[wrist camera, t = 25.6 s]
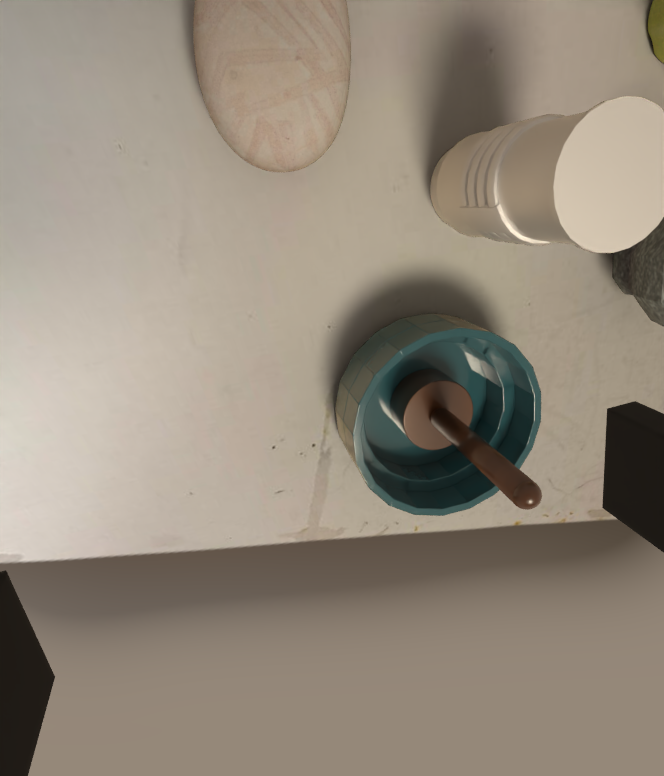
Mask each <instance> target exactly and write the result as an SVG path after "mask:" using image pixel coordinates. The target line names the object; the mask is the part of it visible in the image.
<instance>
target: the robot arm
mask: <svg viewBox="0 0 664 776" xmlns="http://www.w3.org/2000/svg"><path fill="white" fill-rule="evenodd" d="M603 508H604V509H605V510H606V511H608V512H609V513H610V514H612V515H613V516H615V517H616V518H617V519H619V520H620V521H622V522H623V523H624V524H626V525H627V526H628V527H630V528H631V529H632V530H634V531H635V532H637V533H638V534H639V535H641V536H642V537H643V538H645V539H646V540H648V541H649V542H650V543H652V544H653V545H654V546H656V547H657V548H658V549H660V550H661V551H663V552H664V414H663V413H660V412H658V411H656V410H654V409H651V408H649V407H647V406H645V405H642V404H640V403H638V402H631V403H627V404H623V405H620V406H616V407H612V408H608V409H607V425H606V447H605V468H604V489H603ZM54 678H55V676H54V674H53V672H52V669H51V667H50V665H49V663H48V661H47V659H46V656H45V654H44V652H43V650H42V648H41V646H40V643H39V641H38V639H37V637H36V635H35V633H34V630H33V628H32V626H31V624H30V622H29V620H28V617H27V615H26V613H25V611H24V609H23V606H22V604H21V602H20V600H19V598H18V596H17V594H16V592H15V589H14V587H13V585H12V583H11V580H10V578H9V576H8V574H7V572H6V571H2V572H0V776H28V773H29V769H30V766H31V762H32V758H33V755H34V751H35V747H36V744H37V740H38V736H39V733H40V729H41V726H42V722H43V718H44V715H45V711H46V707H47V704H48V700H49V696H50V692H51V689H52V686H53V682H54Z"/></svg>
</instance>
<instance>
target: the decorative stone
mask: <svg viewBox="0 0 664 776" xmlns="http://www.w3.org/2000/svg"><path fill="white" fill-rule="evenodd" d="M193 38H194V54H195V62H196V69H197V75H198V79H199V84H200V88H201V91H202V95H203V98H204V101H205V104H206V107H207V109H208V112H209V114H210V117H211V119H212V120H213V122H214V124H215V126H216V128H217V130H218V131H219V133H220V134H221V136H222V137H223V139H224V140H225V141H226V142H227V144H228V145H229V146H230V147H231V148H232V149H233V151H234V152H235V153H237V154H238V155H239V156H240V157H241V158H243V159H244V160H245V161H247V162H248V163H250V164H252V165H254V166H256V167H258V168H261V169H264V170H268V171H273V172H290V171H295V170H299V169H302V168H305V167H307V166H308V165H310V164H312V163H313V162H315V161H316V160H317V159H319V158H320V157H321V156H322V155H323V154H324V153H325V152H326V151H327V149H328V148H329V147H330V145H331V144H332V142H333V141H334V139H335V137H336V135H337V133H338V131H339V128H340V125H341V123H342V120H343V116H344V112H345V108H346V103H347V97H348V90H349V81H350V61H351V46H350V27H349V17H348V9H347V3H346V0H195V6H194V19H193Z"/></svg>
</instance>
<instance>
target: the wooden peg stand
mask: <svg viewBox="0 0 664 776" xmlns="http://www.w3.org/2000/svg"><path fill="white" fill-rule="evenodd" d="M390 408H391V415H392V418H393V420H394V422H395V423H396V425H397V426H398V427H399V428H400V429H401V431H402V432H403V433H404V434H405V435H406V436H407V437H408V439H409V440H410V441H411V442H412V443H413V444H415V445H416V446H418V447H420V448H423V449H427V450H439V449H443V448H446V447H448V446H450V445H452V444H453V445H454V446H455V447H456V448H457V449H458V450H459V451H460V452H461V453H462V454H463V455H464V456H465V457H466V458H467V459H468V460H469V461H471V462H472V463H473V464H474V465H475V466H476V467H477V468H478V469H479V470H480V471H481V472H482V473H483V474H484V475H485V476H486V477H487V478H488V479H489V480H490V481H491V482H492V483H493V484H494V485H495V486H497V487H498V488H499V489H500V490H501V491H502V492H503V493H504V494H505V495H506V496H507V497H508V498H509V499H510V500H511V501H512V502H513V503H514V504H515V505H516V506H518V507H519V508H522V509H532V508H535V507H536V506H537V505H538V504H539V503H540V501H541V498H542V493H541V490H540V488H539V486H538V485H537V484H536V483H535V482H534V481H532V480H531V479H530V478H529V477H528V476H526V475H525V474H524V473H523V472H522V471H520V470H519V469H518V468H517V467H516V466H515V465H513V464H512V463H511V462H510V461H509V460H507V459H506V458H505V457H504V456H503V455H501V454H500V453H499V452H498V451H497V450H495V449H494V448H493V447H492V446H491V445H489V444H488V443H487V442H486V441H485V440H484V439H482V438H481V437H480V436H479V435H478V434H476V433H475V432H474V431H473V430H472V429H470V428H469V426H470V423H471V420H472V416H473V403H472V399H471V397H470V395H469V393H468V392H467V390H466V389H465V388H464V387H463V386H461V385H460V384H458V383H457V382H456V381H454V380H453V379H451V378H450V377H449V376H447V375H446V374H444V373H443V372H440V371H438V370H434V369H423V370H418V371H415V372H413V373H411V374H409V375H408V376H406V377H405V378H404V379H403V380H402V381H401V382H400V383H399V384H398V386H397V387H396V389H395V391H394V392H393V395H392V399H391V405H390Z"/></svg>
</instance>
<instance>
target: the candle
mask: <svg viewBox="0 0 664 776" xmlns="http://www.w3.org/2000/svg"><path fill="white" fill-rule="evenodd" d="M430 194H431V201H432V204H433V207H434V209H435V211H436V213H437V215H438V216H439V217H440V218H441V220H442V221H443V222H445V223H446V224H448V225H449V226H451V227H452V228H454V229H455V230H457V231H458V232H459V233H461V234H464V235H467V236H470V237H486V238H489V239H492V240H495V241H504V242H508V243H516V244H525V245H547V244H551V243H554V242H557V243H565V244H574V245H575V246H576V247H578V248H581V249H584V250H587V251H590V252H595V253H614V252H618V251H621V250H624V249H628V248H630V247H632V246H633V245H635V244H636V243H638V242H640V241H641V240H643V239H645V238H646V237H647V236H648V235H649V234H650V233H651V232H652V231H653V230H654V229H655V228H656V227H657V226H658V225H659V223H660V222H661V220H662V219H663V217H664V111H663V110H662V109H661V108H660V107H659V106H658V105H657V104H656V103H653V102H651V101H649V100H647V99H645V98H643V97H631V96H623V97H619V98H616V99H612V100H608V101H604V102H601V103H599V104H598V105H596V106H594V107H593V108H591V109H589V110H588V111H586V112H583V113H579V114H575V115H570V116H564V115H554V114H547V115H543V116H539V117H535V118H531V119H527V120H523V121H519V122H515V123H511V124H507V125H504V126H500V127H496V128H495V129H493V130H491V131H486V132H479V133H476V134H472V135H469V136H467V137H466V138H464V139H463V140H461V141H459V142H458V143H457V144H456V145H455V146H454V147H453V148H451V149H450V150H448V151H447V152H446V153H445V154H444V155H443V156H442V157H441V158H440V160H439V162H438V163H437V165H436V167H435V169H434V172H433V175H432V178H431V186H430Z"/></svg>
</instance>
